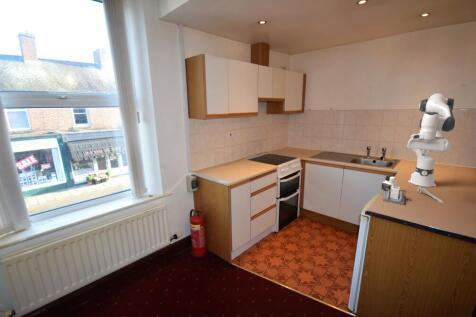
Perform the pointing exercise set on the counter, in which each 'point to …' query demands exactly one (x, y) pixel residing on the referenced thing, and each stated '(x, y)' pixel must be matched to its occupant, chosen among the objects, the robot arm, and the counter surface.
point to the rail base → (393, 198)
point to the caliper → (428, 193)
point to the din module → (394, 192)
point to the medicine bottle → (388, 183)
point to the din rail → (399, 198)
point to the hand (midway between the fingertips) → (423, 155)
